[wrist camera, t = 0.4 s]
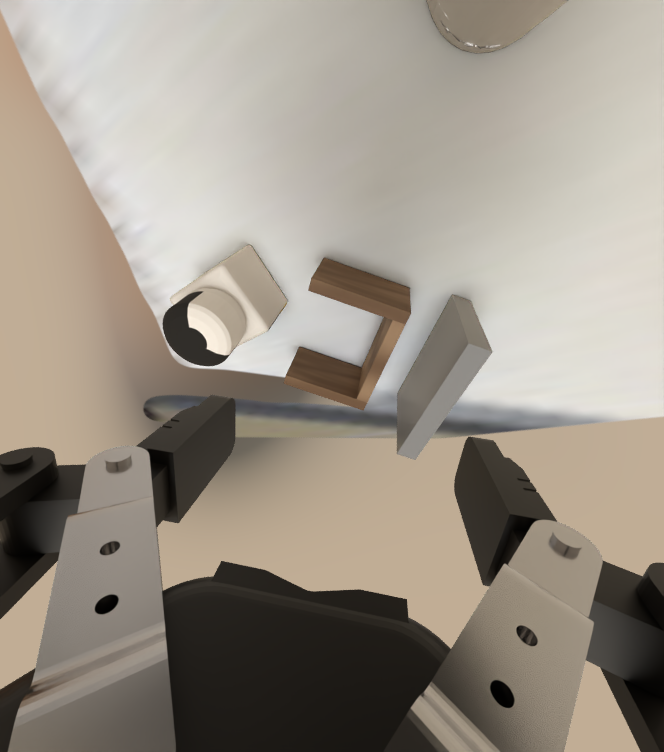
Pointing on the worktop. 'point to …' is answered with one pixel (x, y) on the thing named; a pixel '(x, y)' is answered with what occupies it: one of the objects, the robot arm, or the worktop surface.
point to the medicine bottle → (223, 309)
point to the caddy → (360, 382)
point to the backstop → (440, 375)
